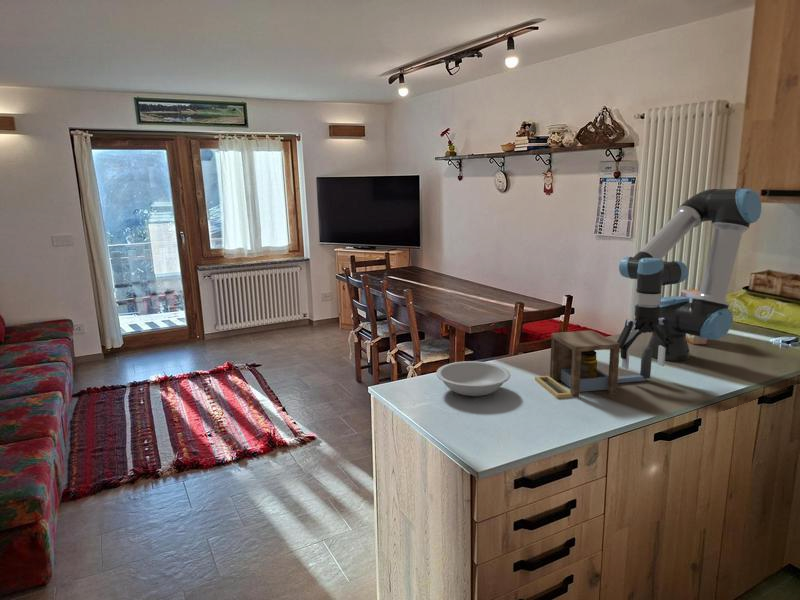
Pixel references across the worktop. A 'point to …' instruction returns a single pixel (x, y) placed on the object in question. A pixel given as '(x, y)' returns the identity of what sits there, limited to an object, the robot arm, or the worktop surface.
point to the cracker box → (690, 295)
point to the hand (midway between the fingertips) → (642, 366)
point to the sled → (602, 378)
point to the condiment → (588, 364)
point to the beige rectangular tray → (553, 387)
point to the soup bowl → (473, 377)
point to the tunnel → (569, 356)
